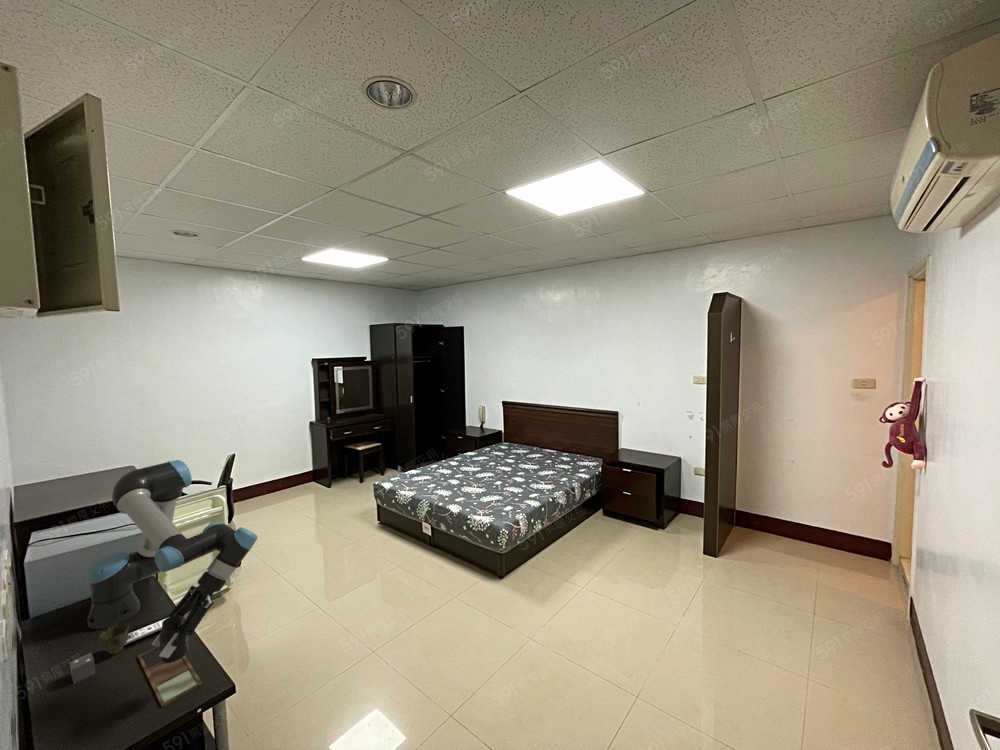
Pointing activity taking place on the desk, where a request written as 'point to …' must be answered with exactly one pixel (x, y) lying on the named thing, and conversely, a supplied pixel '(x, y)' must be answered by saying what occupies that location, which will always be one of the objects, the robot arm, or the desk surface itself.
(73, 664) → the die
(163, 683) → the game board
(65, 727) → the desk surface
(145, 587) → the desk surface
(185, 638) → the supplement bottle
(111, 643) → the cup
